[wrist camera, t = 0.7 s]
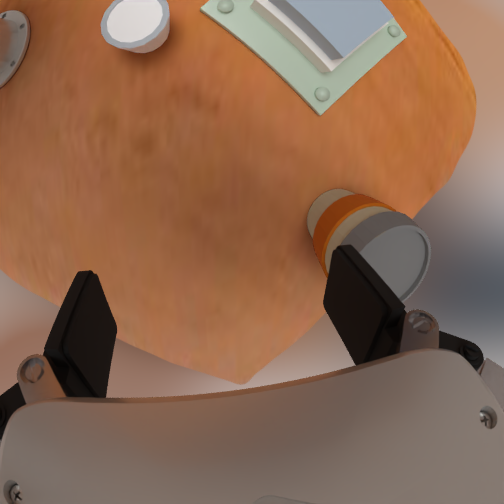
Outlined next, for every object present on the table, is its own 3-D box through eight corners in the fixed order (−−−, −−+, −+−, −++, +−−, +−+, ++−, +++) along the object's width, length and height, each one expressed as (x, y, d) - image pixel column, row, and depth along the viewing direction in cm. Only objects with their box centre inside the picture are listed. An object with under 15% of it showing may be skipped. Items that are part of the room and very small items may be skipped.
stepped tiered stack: (199, 10, 23) (200, -10, 17) (308, -61, 17) (329, -81, 12) (317, 114, 32) (343, 120, 26) (403, 36, 27) (434, 33, 21)
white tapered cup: (158, 64, 26) (148, 56, 20) (108, 50, 23) (88, 41, 17) (185, 17, 23) (182, -2, 17) (134, 3, 20) (121, -16, 15)
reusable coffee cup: (380, 185, 39) (447, 229, 26) (355, 256, 45) (404, 315, 32) (306, 169, 36) (365, 214, 23) (286, 251, 42) (323, 322, 29)
